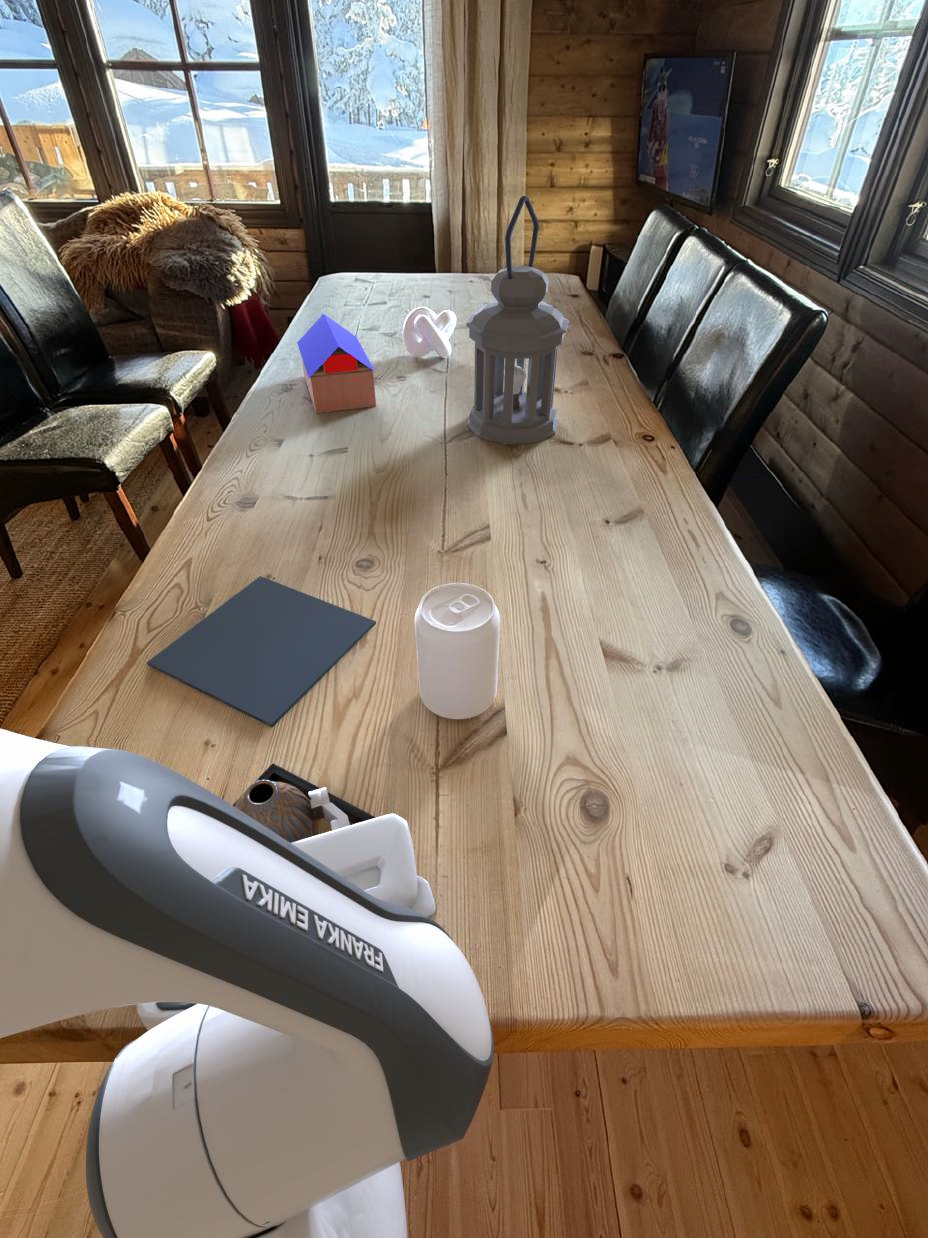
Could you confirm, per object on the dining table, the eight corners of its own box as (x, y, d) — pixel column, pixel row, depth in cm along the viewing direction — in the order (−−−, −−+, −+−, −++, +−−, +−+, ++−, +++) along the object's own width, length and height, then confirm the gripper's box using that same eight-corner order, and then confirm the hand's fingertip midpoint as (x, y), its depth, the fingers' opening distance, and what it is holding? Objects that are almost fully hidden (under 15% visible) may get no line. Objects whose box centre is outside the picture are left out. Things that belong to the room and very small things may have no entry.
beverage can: (403, 692, 69) (396, 604, 61) (460, 655, 73) (459, 569, 66) (455, 736, 65) (454, 648, 57) (512, 695, 69) (518, 607, 61)
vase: (222, 876, 54) (194, 816, 48) (269, 807, 59) (248, 745, 53) (296, 904, 52) (275, 846, 46) (338, 831, 57) (323, 769, 51)
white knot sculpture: (465, 361, 143) (465, 317, 137) (411, 366, 140) (409, 322, 134) (452, 344, 151) (451, 302, 145) (400, 349, 148) (398, 306, 142)
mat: (272, 727, 66) (271, 724, 65) (147, 664, 72) (146, 662, 72) (376, 623, 78) (375, 621, 77) (260, 578, 84) (260, 575, 84)
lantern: (485, 399, 127) (489, 184, 104) (569, 412, 122) (593, 190, 99) (452, 435, 115) (449, 201, 92) (544, 451, 111) (565, 209, 88)
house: (359, 369, 139) (353, 310, 131) (378, 406, 125) (372, 342, 117) (302, 375, 136) (292, 316, 129) (314, 414, 122) (304, 349, 114)
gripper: (443, 909, 43) (391, 748, 53) (107, 1023, 38) (118, 822, 48) (445, 950, 47) (396, 794, 57) (142, 1058, 42) (145, 866, 52)
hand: (267, 807), depth 52 cm, fingers closed on vase, 6 cm apart
